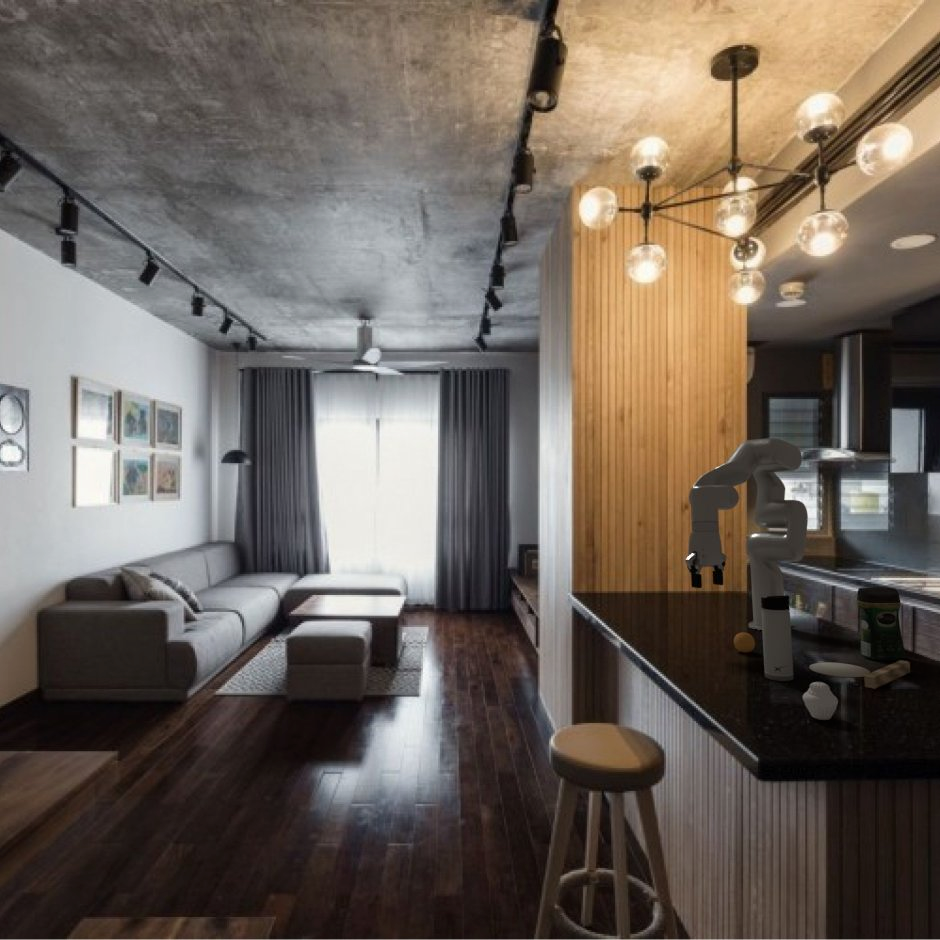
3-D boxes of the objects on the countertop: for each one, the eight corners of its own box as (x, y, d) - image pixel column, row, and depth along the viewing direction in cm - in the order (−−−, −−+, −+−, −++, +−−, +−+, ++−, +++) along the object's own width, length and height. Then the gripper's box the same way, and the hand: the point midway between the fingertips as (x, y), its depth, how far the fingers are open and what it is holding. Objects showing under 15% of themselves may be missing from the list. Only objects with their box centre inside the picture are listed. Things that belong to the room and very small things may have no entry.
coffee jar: (893, 654, 171) (889, 584, 172) (910, 661, 164) (905, 589, 164) (855, 654, 173) (851, 585, 173) (870, 661, 165) (865, 589, 166)
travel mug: (783, 683, 148) (778, 597, 149) (759, 676, 154) (754, 594, 155) (800, 679, 151) (796, 594, 152) (776, 672, 157) (771, 591, 158)
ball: (741, 649, 182) (740, 629, 182) (759, 652, 177) (758, 632, 178) (730, 652, 179) (729, 632, 179) (748, 655, 174) (747, 635, 174)
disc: (824, 660, 167) (824, 659, 167) (879, 670, 156) (879, 669, 156) (799, 669, 159) (799, 668, 159) (855, 680, 149) (855, 679, 149)
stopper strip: (901, 670, 156) (900, 660, 156) (910, 672, 154) (909, 661, 154) (864, 686, 144) (864, 675, 144) (874, 688, 142) (873, 677, 142)
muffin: (811, 710, 130) (809, 675, 130) (843, 717, 125) (841, 681, 126) (798, 717, 126) (796, 681, 126) (832, 725, 121) (829, 688, 122)
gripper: (713, 526, 195) (715, 582, 194) (675, 528, 185) (677, 587, 184) (734, 526, 188) (737, 584, 187) (696, 529, 179) (699, 590, 178)
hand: (707, 586), depth 186 cm, fingers open, 9 cm apart
